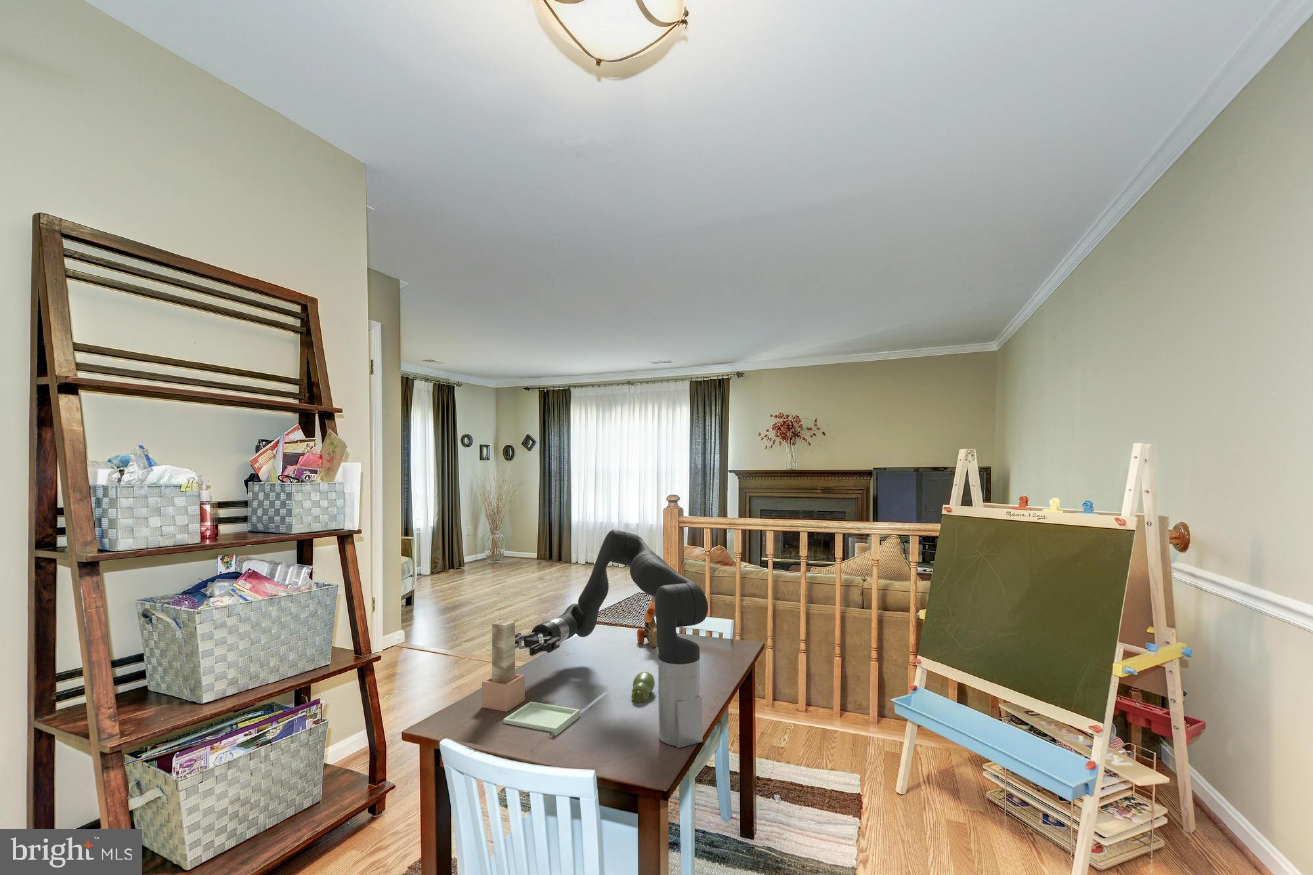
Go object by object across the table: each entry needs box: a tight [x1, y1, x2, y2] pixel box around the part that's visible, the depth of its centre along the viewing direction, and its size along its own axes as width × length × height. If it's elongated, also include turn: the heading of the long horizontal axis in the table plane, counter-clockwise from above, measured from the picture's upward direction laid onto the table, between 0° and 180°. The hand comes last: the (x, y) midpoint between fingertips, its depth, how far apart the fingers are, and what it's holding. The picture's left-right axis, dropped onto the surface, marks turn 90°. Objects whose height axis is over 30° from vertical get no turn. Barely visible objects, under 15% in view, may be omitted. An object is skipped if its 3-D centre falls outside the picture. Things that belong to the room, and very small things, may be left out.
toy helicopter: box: [636, 601, 658, 649], centre depth 195 cm, size 8×21×14 cm, turn 12°
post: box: [491, 619, 516, 684], centre depth 149 cm, size 4×4×20 cm
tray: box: [503, 701, 581, 737], centre depth 140 cm, size 14×11×2 cm
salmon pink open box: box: [481, 673, 526, 712], centre depth 149 cm, size 7×7×7 cm
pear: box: [631, 671, 656, 703], centre depth 155 cm, size 6×5×10 cm
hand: (516, 650), depth 154 cm, fingers open, 8 cm apart
